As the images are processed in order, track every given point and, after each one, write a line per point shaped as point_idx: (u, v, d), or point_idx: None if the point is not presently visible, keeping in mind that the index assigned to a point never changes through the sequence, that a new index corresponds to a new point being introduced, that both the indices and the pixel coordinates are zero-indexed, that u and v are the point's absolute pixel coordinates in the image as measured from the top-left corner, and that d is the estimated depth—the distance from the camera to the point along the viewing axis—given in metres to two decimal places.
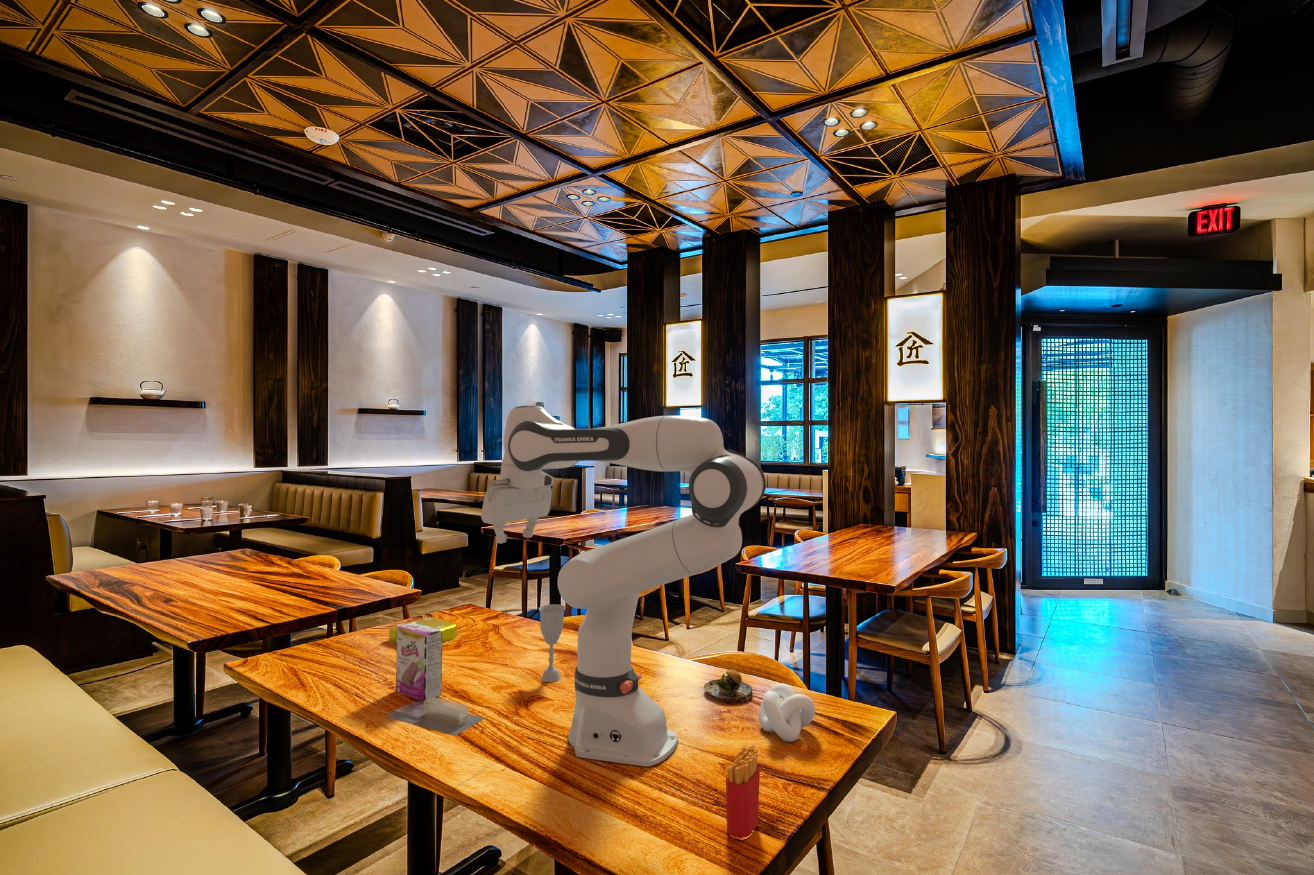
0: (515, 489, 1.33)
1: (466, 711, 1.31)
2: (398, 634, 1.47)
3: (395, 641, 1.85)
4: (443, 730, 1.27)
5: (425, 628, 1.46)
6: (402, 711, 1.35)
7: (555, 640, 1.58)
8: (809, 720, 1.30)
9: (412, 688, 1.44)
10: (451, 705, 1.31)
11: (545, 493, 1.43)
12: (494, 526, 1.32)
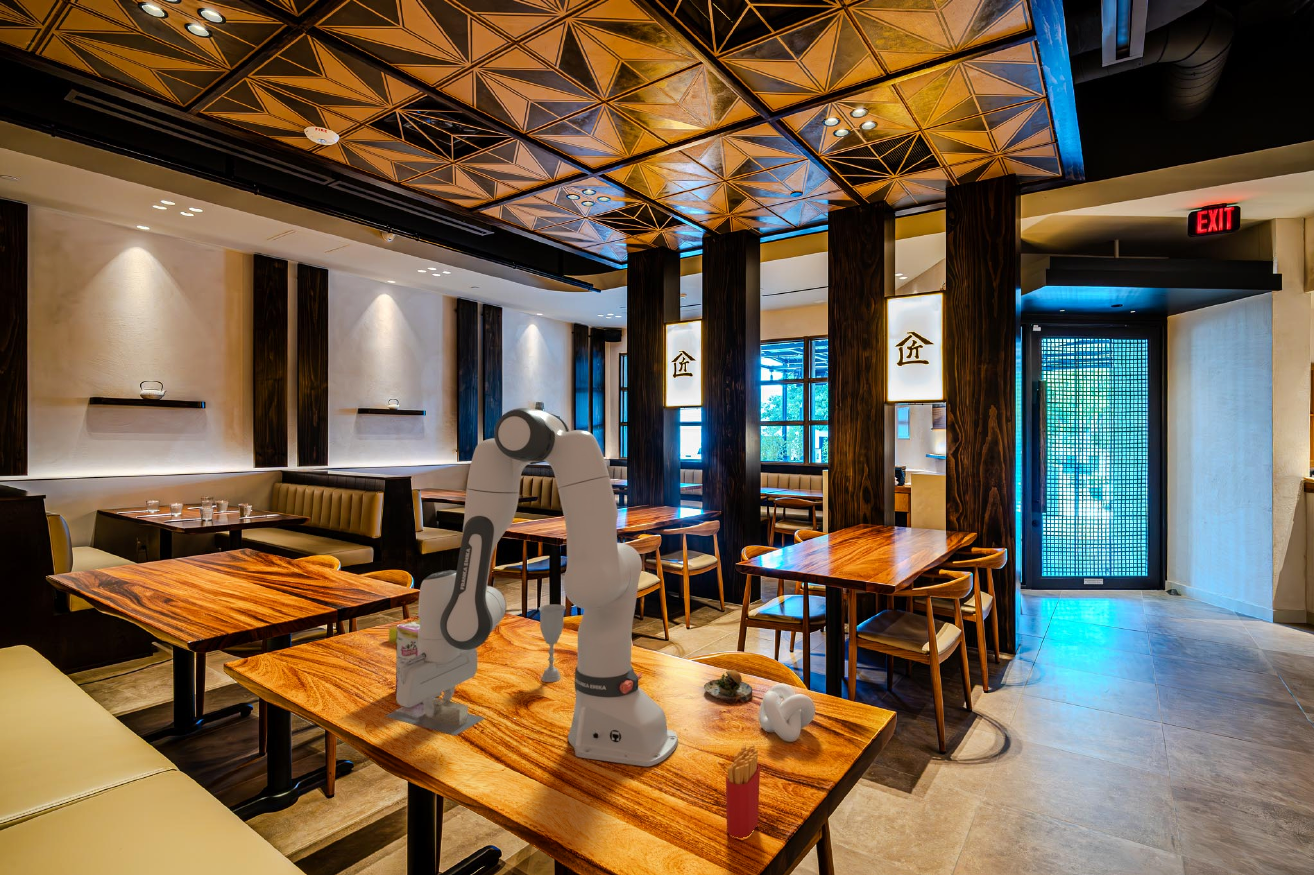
0: (432, 663, 1.29)
1: (466, 711, 1.31)
2: (398, 634, 1.47)
3: (395, 641, 1.85)
4: (443, 730, 1.27)
5: None
6: (402, 711, 1.35)
7: (555, 640, 1.58)
8: (809, 720, 1.30)
9: None
10: (451, 705, 1.31)
11: (469, 655, 1.39)
12: (423, 700, 1.30)
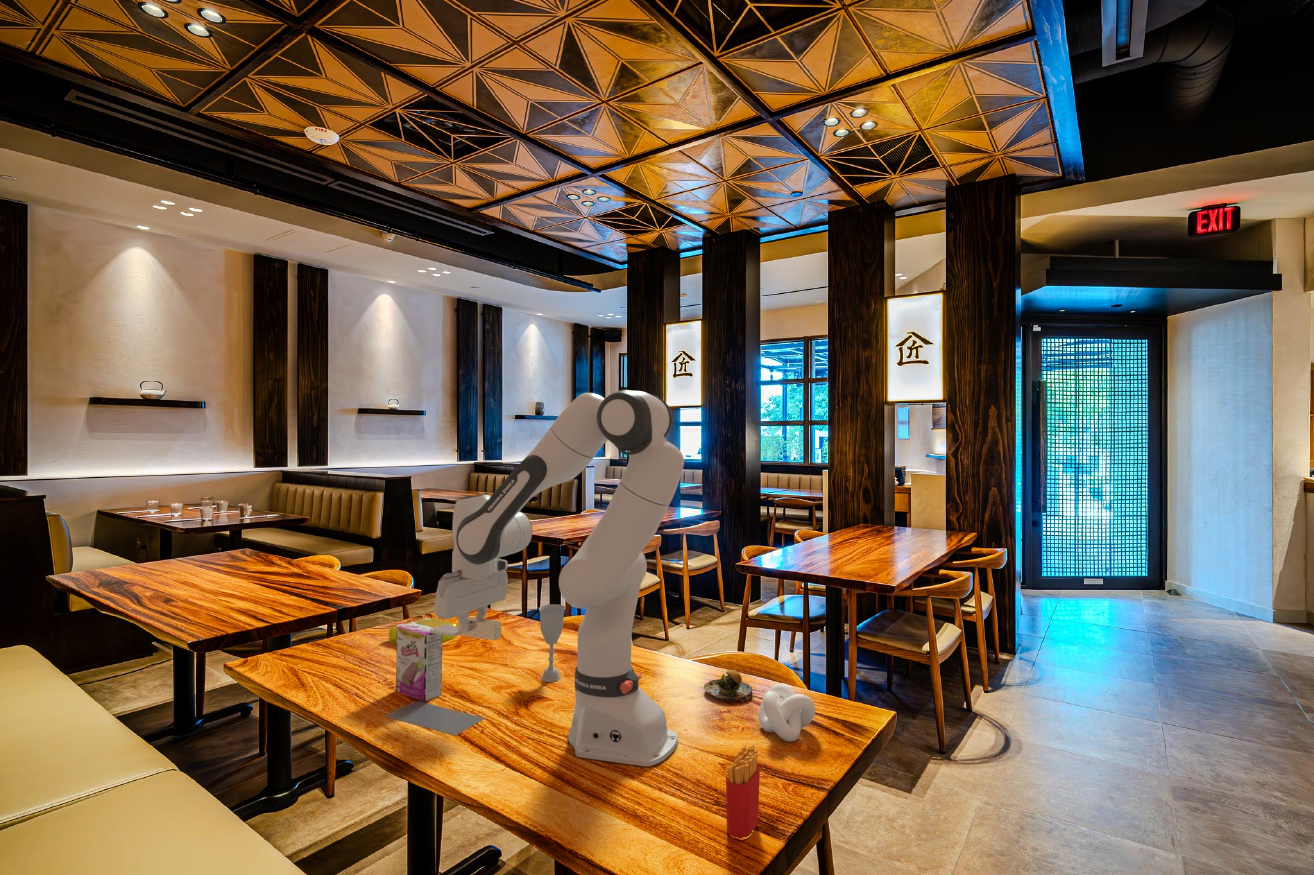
0: (467, 580, 1.35)
1: (500, 626, 1.36)
2: (398, 634, 1.47)
3: (395, 641, 1.85)
4: (443, 730, 1.27)
5: (425, 628, 1.46)
6: (437, 630, 1.40)
7: (555, 640, 1.58)
8: (809, 720, 1.30)
9: (412, 688, 1.44)
10: (485, 621, 1.37)
11: (500, 578, 1.45)
12: (458, 616, 1.35)
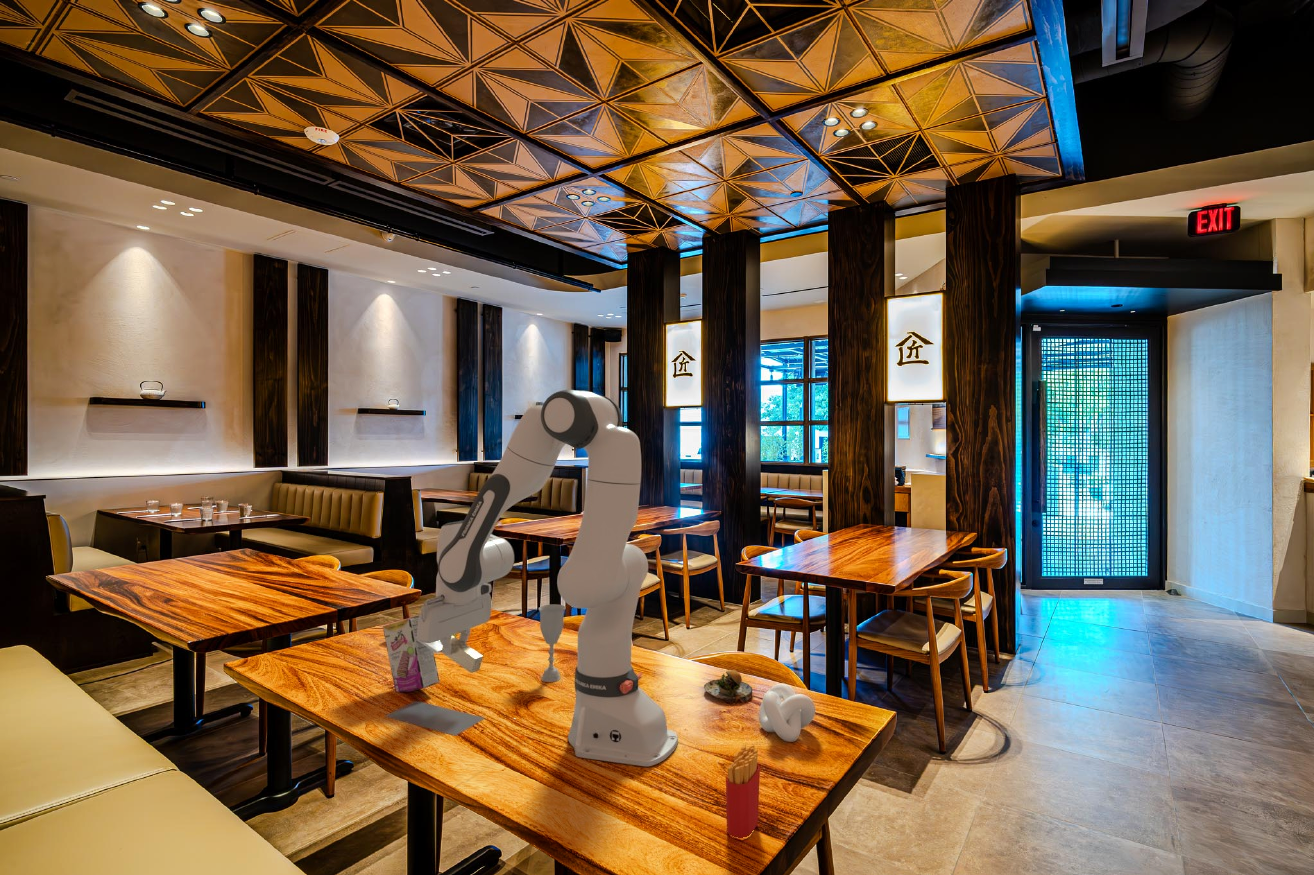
0: (450, 604, 1.38)
1: (480, 660, 1.39)
2: (385, 632, 1.50)
3: None
4: (443, 730, 1.27)
5: None
6: None
7: (555, 640, 1.58)
8: (809, 720, 1.30)
9: (408, 677, 1.45)
10: (468, 651, 1.39)
11: (484, 601, 1.48)
12: (441, 639, 1.39)
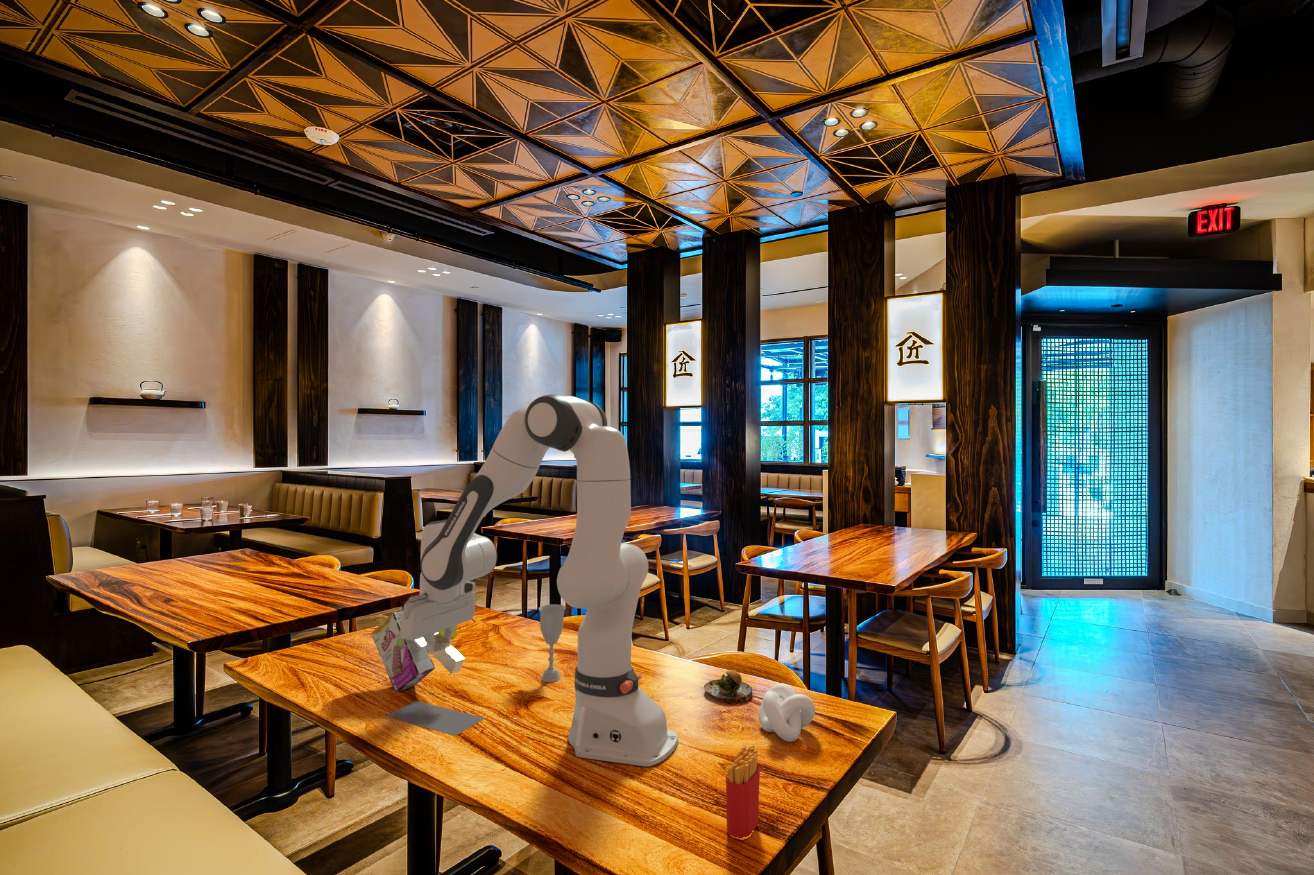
0: (433, 602, 1.40)
1: (461, 662, 1.41)
2: (374, 637, 1.52)
3: None
4: (443, 730, 1.27)
5: None
6: None
7: (555, 640, 1.58)
8: (809, 720, 1.30)
9: (403, 670, 1.46)
10: (450, 651, 1.41)
11: (467, 599, 1.50)
12: (424, 637, 1.41)
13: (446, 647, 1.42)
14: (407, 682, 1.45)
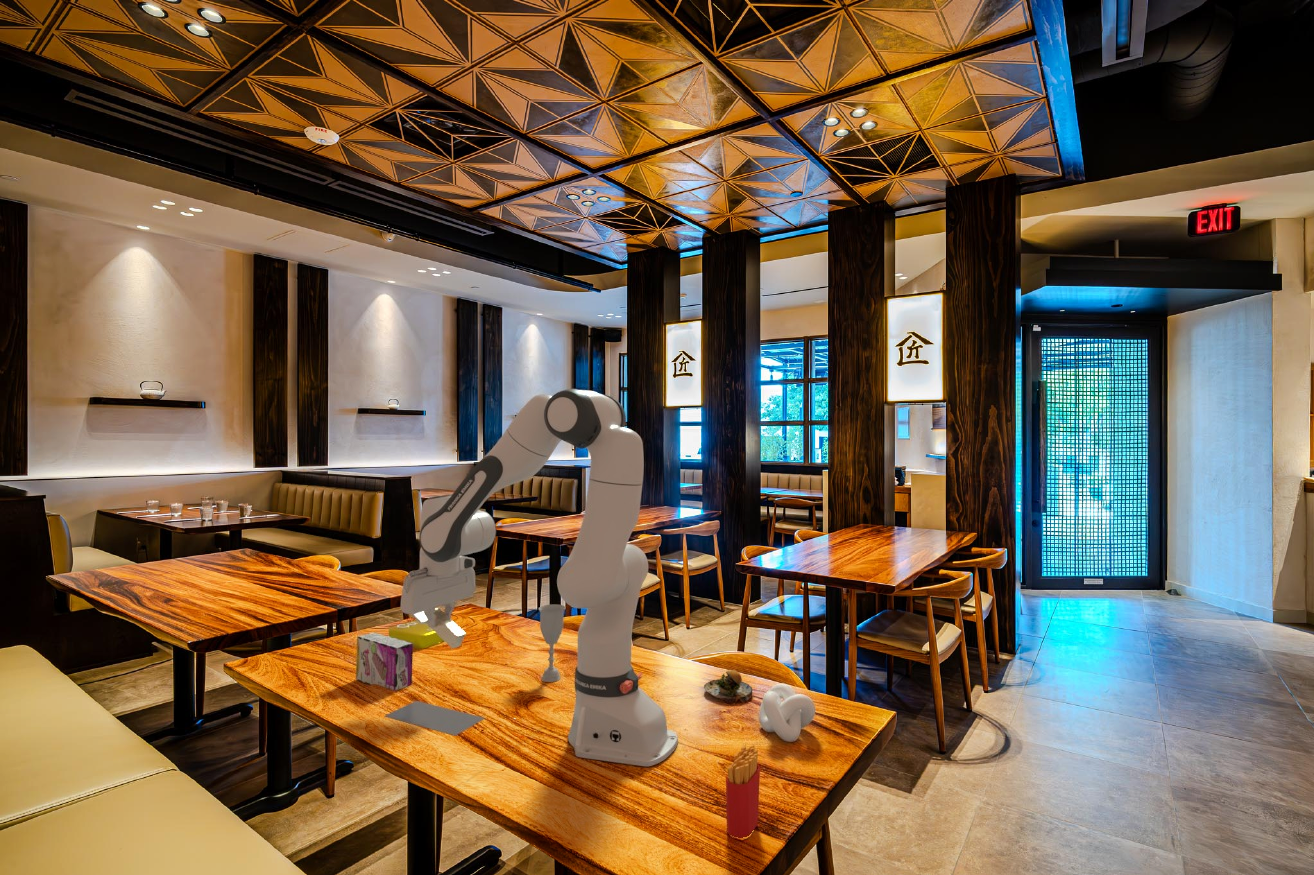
0: (433, 577, 1.40)
1: (462, 637, 1.41)
2: (359, 677, 1.55)
3: None
4: (443, 730, 1.27)
5: None
6: None
7: (555, 640, 1.58)
8: (809, 720, 1.30)
9: (387, 664, 1.49)
10: (451, 626, 1.41)
11: (468, 575, 1.50)
12: (425, 612, 1.41)
13: (447, 622, 1.42)
14: (395, 668, 1.48)
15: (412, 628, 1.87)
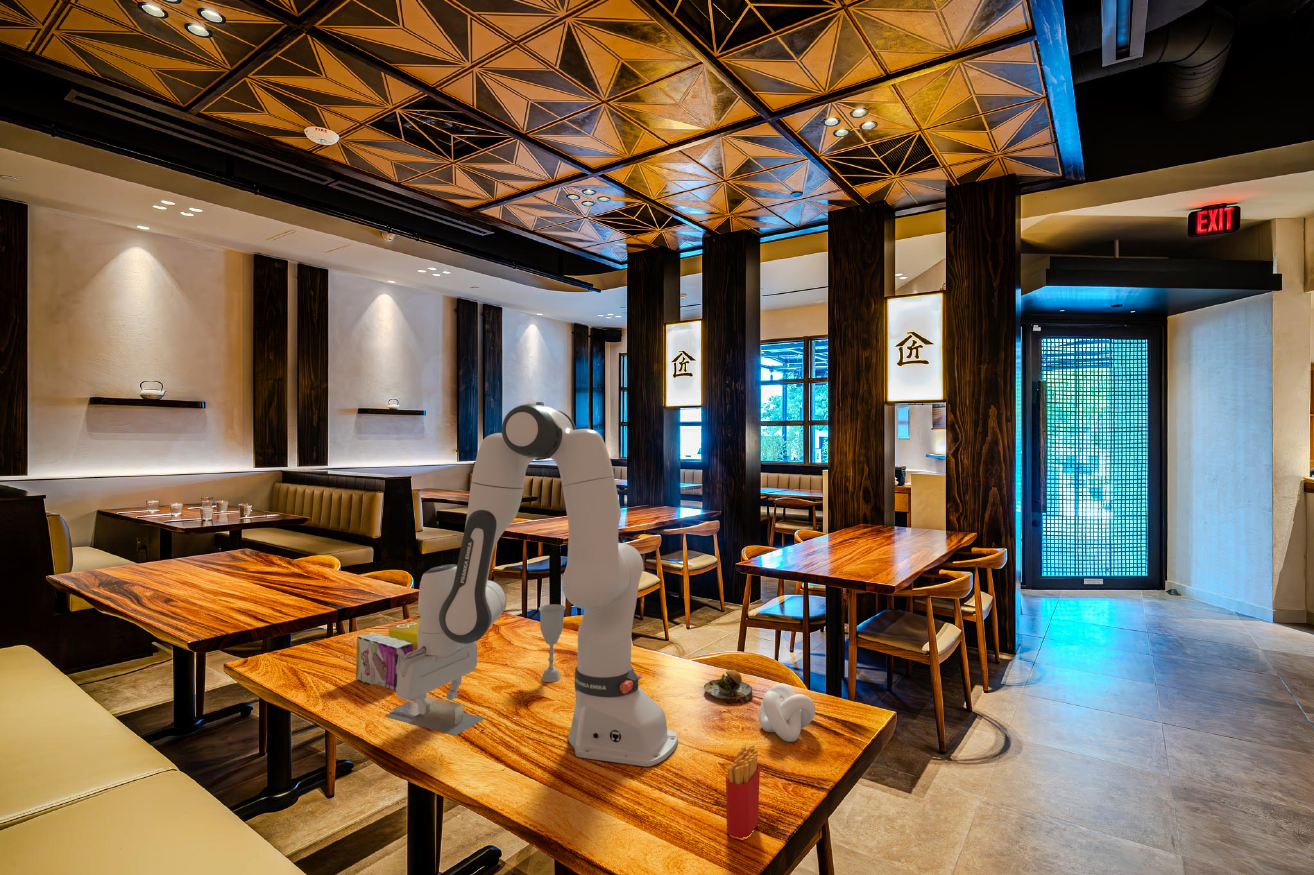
0: (432, 657, 1.29)
1: (462, 710, 1.32)
2: (359, 677, 1.55)
3: None
4: (443, 730, 1.27)
5: None
6: (398, 710, 1.35)
7: (555, 640, 1.58)
8: (809, 720, 1.30)
9: (387, 664, 1.49)
10: (446, 704, 1.32)
11: (469, 649, 1.39)
12: (415, 698, 1.28)
13: (440, 703, 1.32)
14: (395, 668, 1.48)
15: (412, 628, 1.87)
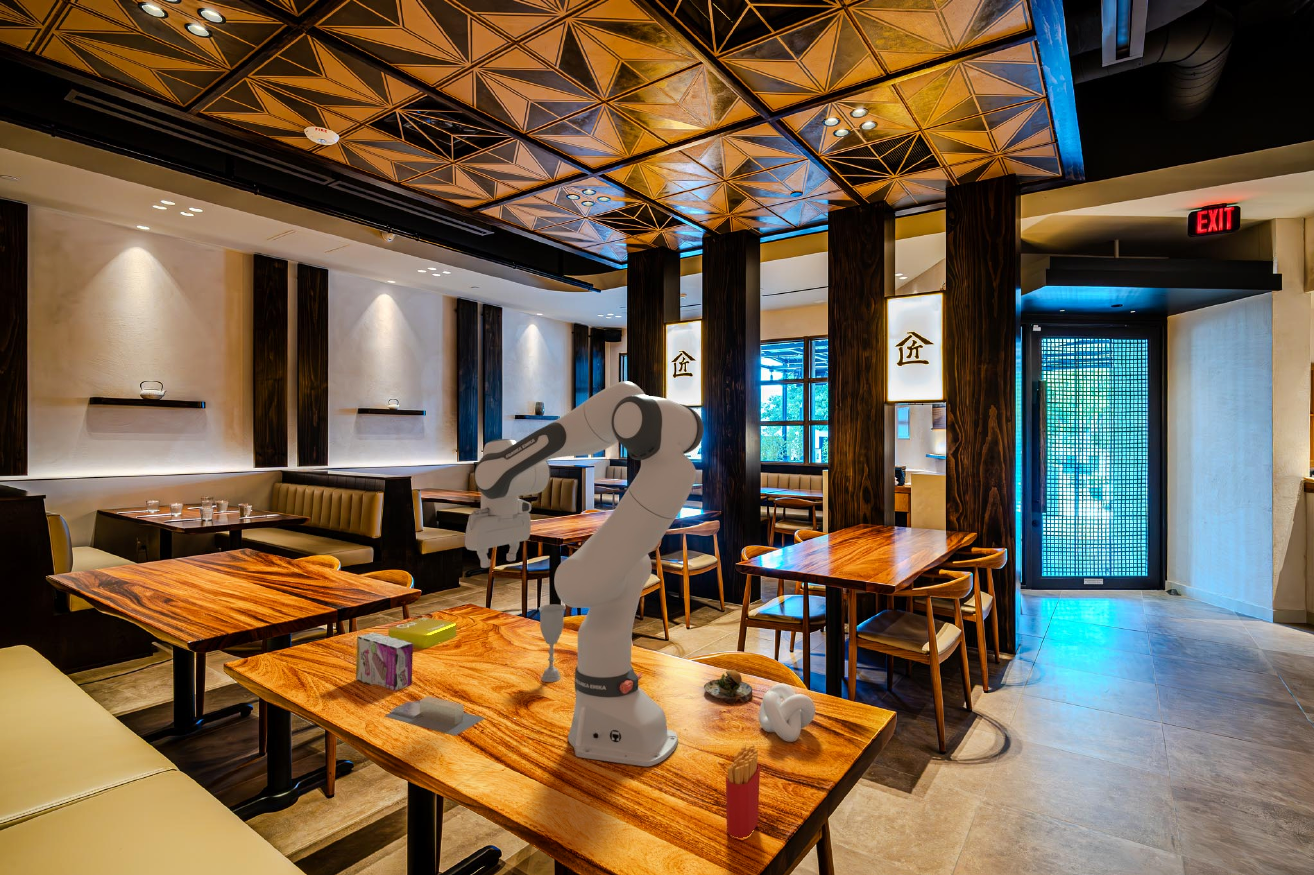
0: (495, 517, 1.46)
1: (462, 710, 1.32)
2: (359, 677, 1.55)
3: None
4: (443, 730, 1.27)
5: None
6: (398, 710, 1.35)
7: (555, 640, 1.58)
8: (809, 720, 1.30)
9: (387, 664, 1.49)
10: (446, 704, 1.32)
11: (524, 519, 1.55)
12: (478, 552, 1.44)
13: (440, 703, 1.32)
14: (395, 668, 1.48)
15: (412, 628, 1.87)
